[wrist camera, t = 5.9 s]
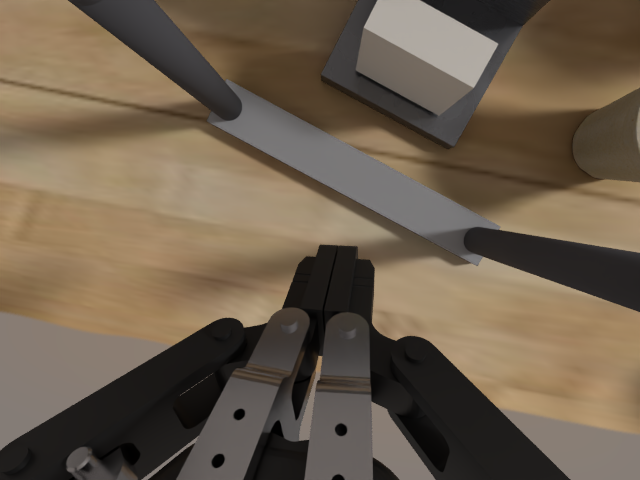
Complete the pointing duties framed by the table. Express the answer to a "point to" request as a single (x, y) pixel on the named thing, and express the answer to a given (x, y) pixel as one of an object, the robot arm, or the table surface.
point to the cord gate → (360, 165)
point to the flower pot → (611, 140)
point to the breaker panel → (340, 72)
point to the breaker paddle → (422, 53)
